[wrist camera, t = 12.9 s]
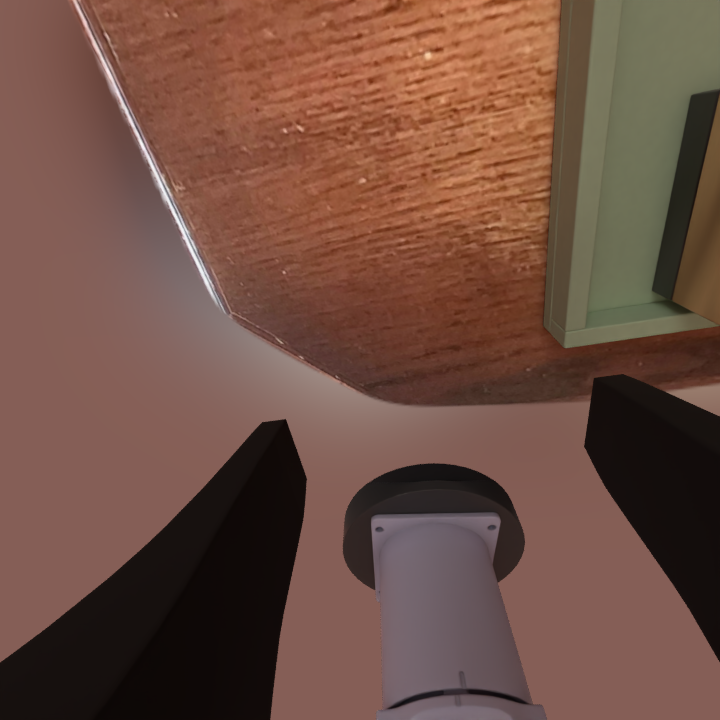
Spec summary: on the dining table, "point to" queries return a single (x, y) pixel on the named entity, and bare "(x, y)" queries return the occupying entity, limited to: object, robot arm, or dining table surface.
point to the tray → (621, 161)
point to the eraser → (694, 215)
